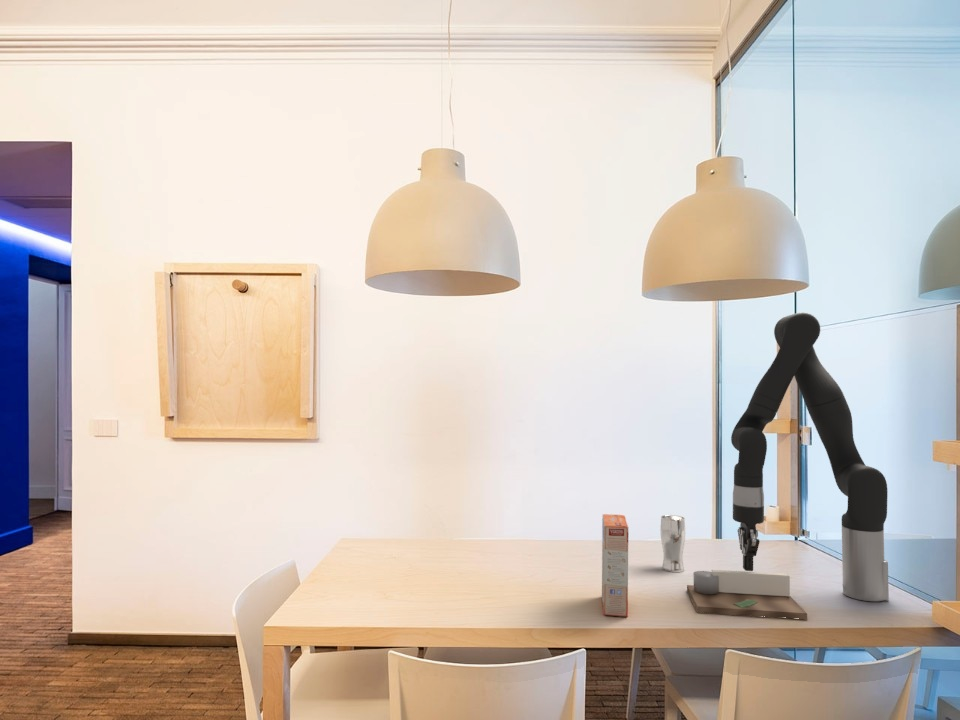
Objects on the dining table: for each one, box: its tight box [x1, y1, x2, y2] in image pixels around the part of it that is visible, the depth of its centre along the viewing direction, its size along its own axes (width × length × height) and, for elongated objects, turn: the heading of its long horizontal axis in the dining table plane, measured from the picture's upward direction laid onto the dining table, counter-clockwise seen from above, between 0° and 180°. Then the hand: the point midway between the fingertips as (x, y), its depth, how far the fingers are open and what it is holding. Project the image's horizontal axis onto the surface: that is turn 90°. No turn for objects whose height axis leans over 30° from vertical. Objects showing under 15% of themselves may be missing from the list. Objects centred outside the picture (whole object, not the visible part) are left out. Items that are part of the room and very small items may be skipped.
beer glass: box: [659, 514, 686, 573], centre depth 182 cm, size 7×7×15 cm
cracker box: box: [601, 513, 629, 618], centre depth 151 cm, size 14×6×21 cm, turn 170°
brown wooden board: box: [686, 584, 808, 620], centre depth 152 cm, size 24×16×2 cm, turn 80°
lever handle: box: [693, 569, 791, 596], centre depth 156 cm, size 22×6×5 cm, turn 80°
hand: (748, 570), depth 162 cm, fingers closed
